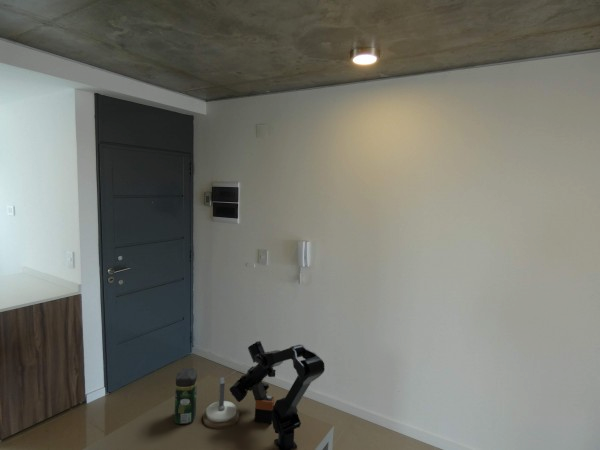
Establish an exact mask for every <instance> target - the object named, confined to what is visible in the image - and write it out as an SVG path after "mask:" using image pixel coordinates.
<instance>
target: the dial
mask: <svg viewBox="0 0 600 450" xmlns="http://www.w3.org/2000/svg"><path fill="white" fill-rule="evenodd" d="M225 383H226V382H225V377H219V393H218V401H215V402H213V403H211V404H209V405H208V406H207V407H206V408H205V410H206V416H207V418H208V419H209V420H211V421H214V422H225V421H228V420H231V419H232V418H233V417H234V416H235V415H236V408H237V406H236V404H234V403H233V402H231V401H227V400H225Z"/></svg>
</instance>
